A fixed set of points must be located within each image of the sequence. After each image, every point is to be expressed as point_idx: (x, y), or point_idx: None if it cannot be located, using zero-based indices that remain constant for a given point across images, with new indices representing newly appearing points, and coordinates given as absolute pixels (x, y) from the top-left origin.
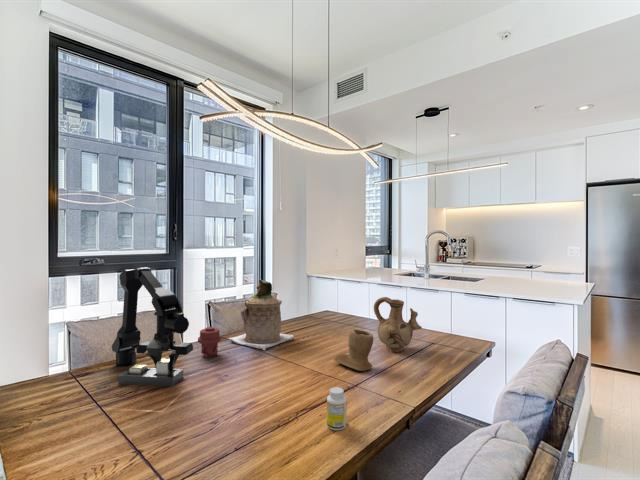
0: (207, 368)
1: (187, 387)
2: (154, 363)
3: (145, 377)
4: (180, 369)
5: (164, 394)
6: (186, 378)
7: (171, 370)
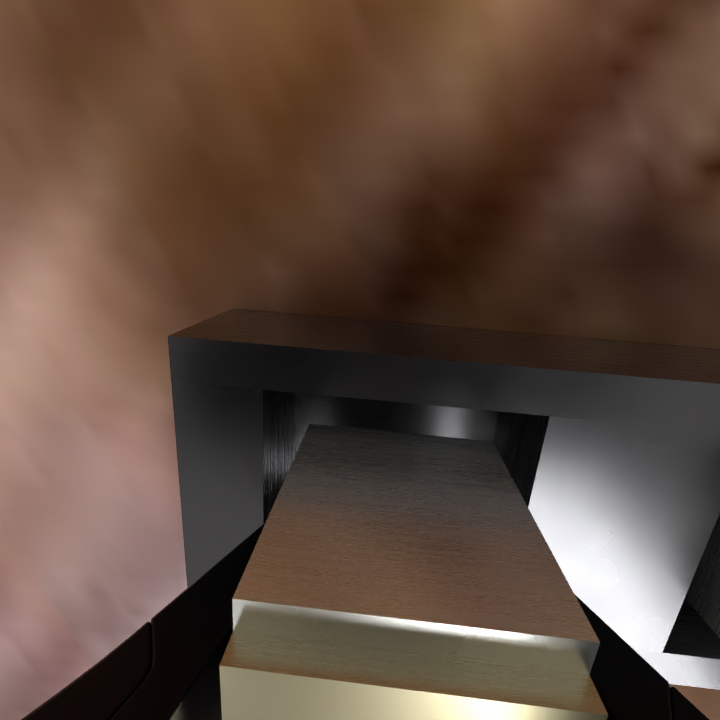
0: None
1: (74, 321)
2: (661, 677)
3: (652, 373)
4: None
5: (235, 113)
6: None
7: None
